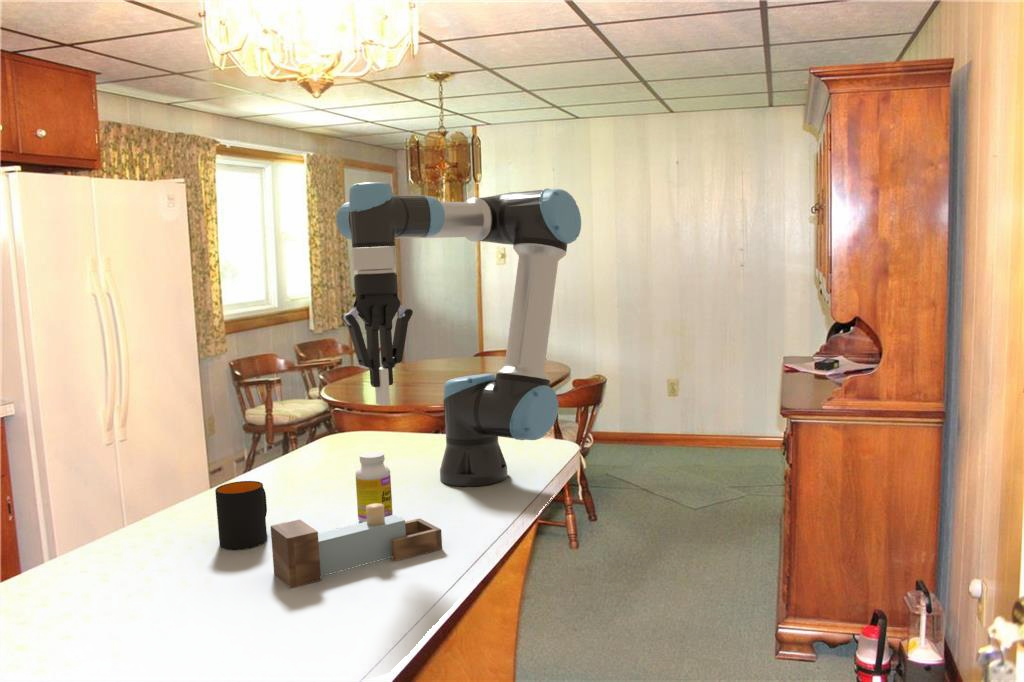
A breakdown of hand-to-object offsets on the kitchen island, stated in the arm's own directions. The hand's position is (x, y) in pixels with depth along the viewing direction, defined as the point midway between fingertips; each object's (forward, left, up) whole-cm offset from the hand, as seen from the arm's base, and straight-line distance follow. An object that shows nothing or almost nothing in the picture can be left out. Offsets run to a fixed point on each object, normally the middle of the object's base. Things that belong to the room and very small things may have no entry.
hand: (383, 404), depth 156 cm
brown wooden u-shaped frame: (0, +8, -24) cm, 26 cm away
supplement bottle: (-2, -11, -25) cm, 27 cm away
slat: (+11, +8, -25) cm, 28 cm away
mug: (+21, -16, -25) cm, 36 cm away
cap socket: (+20, +8, -24) cm, 33 cm away
